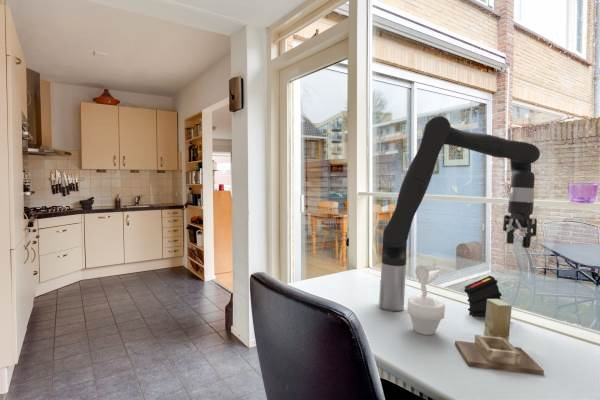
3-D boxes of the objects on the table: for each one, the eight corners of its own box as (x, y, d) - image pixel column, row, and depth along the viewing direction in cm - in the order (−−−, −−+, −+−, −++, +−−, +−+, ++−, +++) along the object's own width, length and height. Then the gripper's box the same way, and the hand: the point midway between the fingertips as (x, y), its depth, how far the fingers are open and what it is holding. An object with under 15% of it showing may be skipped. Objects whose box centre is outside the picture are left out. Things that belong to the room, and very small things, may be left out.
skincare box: (483, 335, 112) (485, 298, 111) (496, 335, 112) (498, 298, 112) (496, 344, 105) (498, 305, 105) (509, 344, 106) (512, 305, 105)
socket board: (468, 365, 91) (469, 350, 91) (454, 344, 104) (455, 330, 104) (543, 375, 88) (544, 358, 88) (520, 351, 101) (521, 337, 101)
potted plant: (425, 341, 105) (430, 260, 104) (398, 327, 116) (402, 252, 115) (454, 335, 111) (458, 257, 110) (425, 322, 121) (429, 251, 121)
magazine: (510, 314, 128) (496, 277, 128) (478, 328, 128) (463, 291, 127) (504, 310, 132) (490, 275, 131) (473, 324, 132) (458, 288, 131)
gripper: (498, 199, 131) (495, 241, 132) (524, 200, 117) (521, 248, 118) (517, 200, 132) (514, 242, 132) (546, 202, 117) (542, 249, 118)
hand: (517, 245), depth 125 cm, fingers open, 8 cm apart
